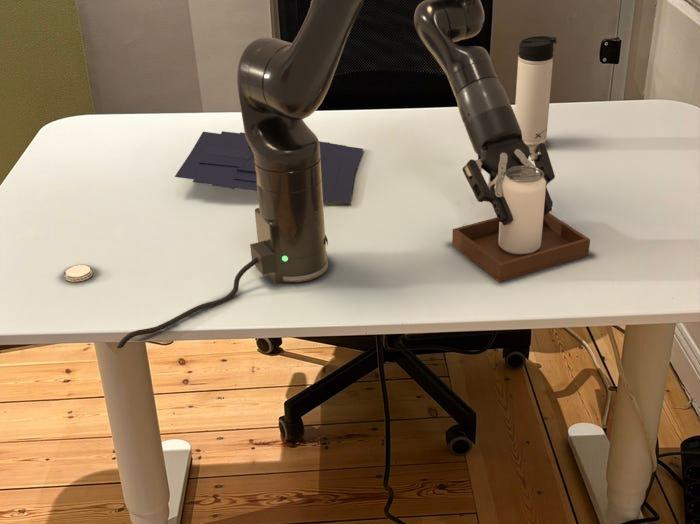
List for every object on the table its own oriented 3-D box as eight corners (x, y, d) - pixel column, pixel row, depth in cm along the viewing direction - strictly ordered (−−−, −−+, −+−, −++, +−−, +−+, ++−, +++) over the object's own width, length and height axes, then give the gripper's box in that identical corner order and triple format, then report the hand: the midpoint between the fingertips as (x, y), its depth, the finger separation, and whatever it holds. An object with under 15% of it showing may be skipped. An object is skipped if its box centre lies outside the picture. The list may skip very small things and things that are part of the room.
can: (491, 240, 145) (495, 167, 138) (530, 233, 146) (535, 162, 139) (508, 259, 140) (512, 185, 133) (547, 252, 141) (554, 179, 134)
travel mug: (546, 151, 175) (555, 43, 163) (511, 149, 176) (517, 41, 164) (548, 139, 180) (557, 33, 168) (514, 137, 181) (521, 31, 169)
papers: (205, 141, 177) (205, 123, 175) (362, 161, 177) (363, 143, 175) (172, 196, 157) (171, 176, 155) (348, 218, 158) (350, 199, 155)
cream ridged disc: (82, 265, 140) (81, 261, 140) (98, 273, 138) (97, 269, 138) (59, 275, 138) (58, 272, 138) (75, 284, 136) (74, 280, 135)
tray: (499, 282, 135) (500, 265, 134) (452, 245, 145) (452, 229, 143) (588, 255, 141) (590, 239, 140) (537, 221, 151) (538, 205, 149)
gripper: (456, 113, 134) (498, 219, 132) (538, 95, 140) (580, 197, 138) (437, 136, 141) (477, 238, 139) (516, 119, 146) (555, 216, 145)
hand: (528, 217), depth 139 cm, fingers closed on can, 6 cm apart
